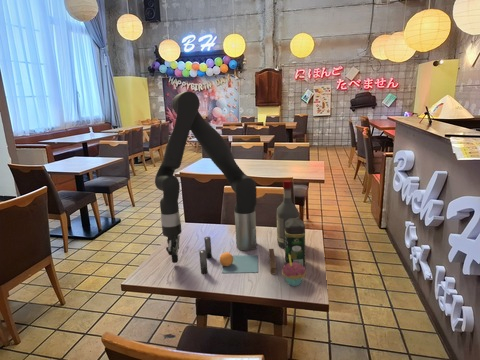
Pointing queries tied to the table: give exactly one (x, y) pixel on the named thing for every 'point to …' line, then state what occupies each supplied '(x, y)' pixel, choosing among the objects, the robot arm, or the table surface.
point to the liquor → (285, 213)
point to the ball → (226, 259)
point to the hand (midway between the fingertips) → (175, 261)
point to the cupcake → (293, 272)
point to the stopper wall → (272, 261)
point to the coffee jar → (295, 241)
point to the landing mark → (242, 264)
